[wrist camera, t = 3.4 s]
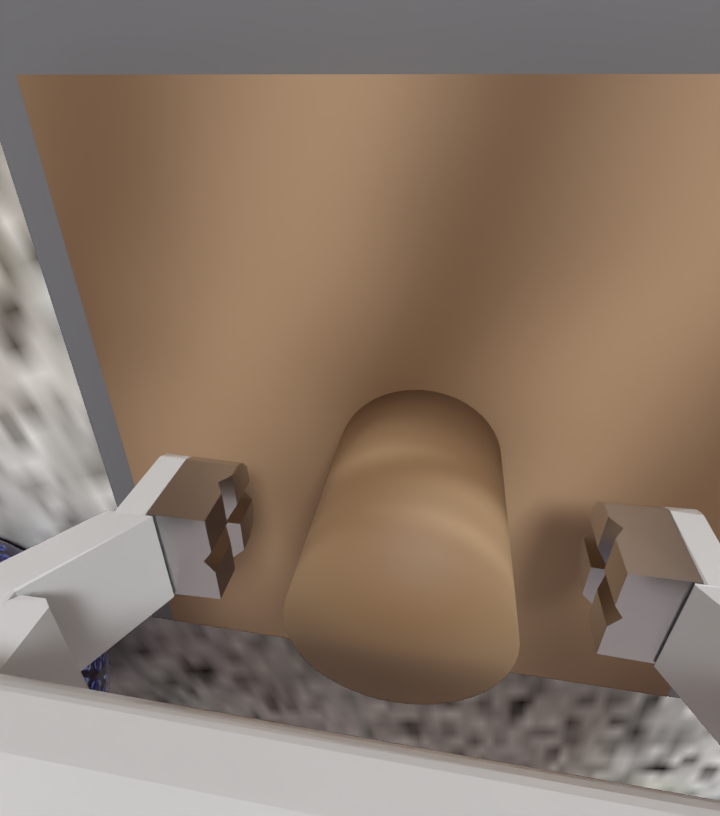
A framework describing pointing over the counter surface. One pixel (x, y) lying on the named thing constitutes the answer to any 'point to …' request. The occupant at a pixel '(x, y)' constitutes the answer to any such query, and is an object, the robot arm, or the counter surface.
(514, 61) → the mat
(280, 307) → the lid
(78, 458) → the counter surface
